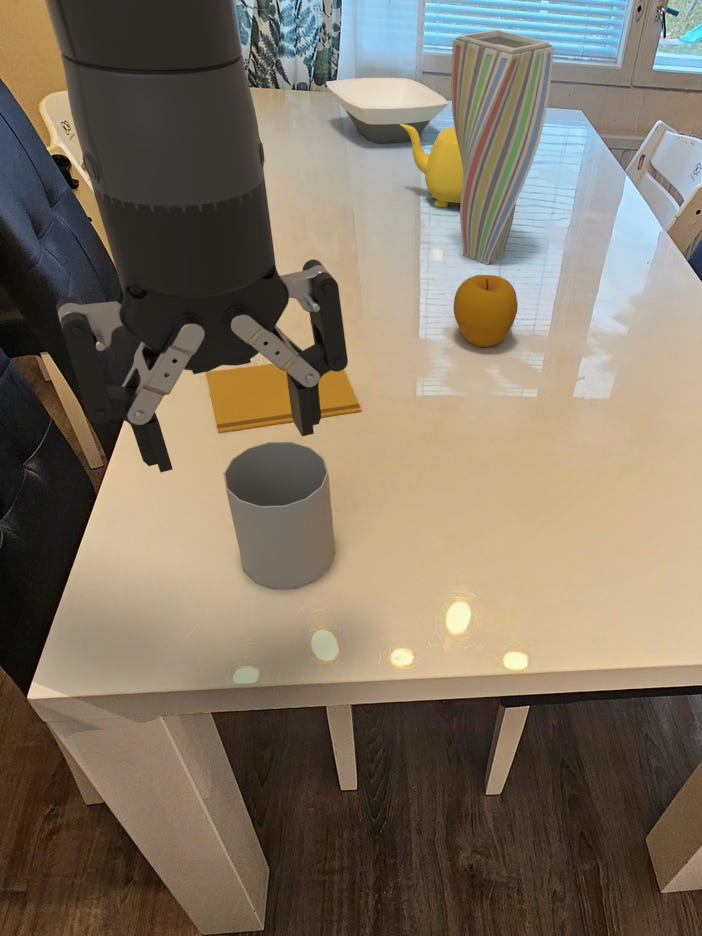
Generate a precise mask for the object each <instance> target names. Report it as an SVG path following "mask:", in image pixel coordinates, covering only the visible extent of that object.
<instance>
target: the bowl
mask: <svg viewBox="0 0 702 936" xmlns="http://www.w3.org/2000/svg"><path fill="white" fill-rule="evenodd" d="M325 85H326V87H327V89H328V91H329V92H330V93H331V95H332V96H333V97H334V98H335V100H336V101H337V102H338V103H339V105H340V106H341V107H342V108H343V109H344V110H345V112H346V114H347V115H348V118H349V119H350V120H351V122H352V123H353V125H354V126H355V128H356V130H357V131H358V132H359V133H360V134H361V135H362V136H363V137H364V138H366V139H367V140H368V141H370V142H372V143H375V144H393V143H396V144H397V143H404V142H411V138H410V136H409V134H408V132H407V131H406V130H405V129H404V128H403V127H402V126H401V125H400V124H405V125H409V126H412V127H414V128H415V129H416V130H417V132H418V134H419V136H420V135H421V133H422V132H423V131H424V130H425V128H426V127H427V126H428V125H429V123H430V122H432V120H434V119H435V118H436V117H437V116H438V115H439V114H440V113H441V112H442V111H443V110H444V109H445V108H446V107H447V106H448V105H449V101H447V100H446V98H445V97H444V96H442V95H441V94H439V93H437V92H436V91H435V90H433V89H431V88H430V87H427V86H426V85H424V84H422V83H420V82H418V81H416V80H413V79H411V78H408V77H361V78H360V77H358V78H344V79H335V80H328V81H325Z"/></svg>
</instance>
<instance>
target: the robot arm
mask: <svg viewBox="0 0 702 936" xmlns="http://www.w3.org/2000/svg"><path fill="white" fill-rule="evenodd" d="M44 2H45V5H46V8H47V13H48V15H49V19H50V22H51V26H52V30H53V34H54V37H55V40H56V43H57V47H58V50H59V51H60V58H61V62H62V66H63V70H64V71H63V72H64V77H65V82H66V89H67V96H68V102H69V108H70V113H71V119H72V122H73V125H74V126H73V127H74V130H75V133H76V137H77V139H78V143H79V147H80V151H81V154H82V162H83V166H84V168H85V170H86V173H87V175H88V177H89V181H90V183H91V187H92V190H93V194H94V198H95V202H96V204H97V208H98V212H99V215H100V218H101V222H102V225H103V229H104V233H105V235H106V238H107V242H108V246H109V249H110V252H111V256H112V259H113V263H114V266H115V270H116V273H117V277H118V280H119V291H118V294H117V298H116V301H115V300H113V301H104V302H96V303H85V304H83V302H82V301H81V300H80V299H79V298H77V297H74V296H64V297H61V298H60V299H59V300H58V301H57V302H56V312H57V316H58V319H59V323H60V327H61V331H62V334H63V338H64V340H65V345H66V347H67V351H68V354H69V359H70V361H71V365H72V368H73V372H74V375H75V378H76V383H77V385H78V388H79V393H80V396H81V400H82V403H83V405H84V409H85V413H86V416H87V418H88V419H89V421H90V422H92V423H95V424H98V425H99V424H100V425H101V424H106V423H108V422H109V421H111V420H121V421H125V422H126V423H128V424H129V425H130V427H131V429H132V432H133V435H134V438H135V442H136V444H137V447H138V451H139V454H140V456H141V459H142V462H144V463H145V464H146V465H147V466H148V467H152V466H156V465H157V466H158V469H159V473H165V472H169V471H173V470H174V469H173V465H172V461H171V458H170V455H169V452H168V448H167V444H166V441H165V438H164V435H163V431H162V428H161V424H160V421H159V419H158V416H157V413H156V411H157V409H158V407H159V406H160V404H161V402H162V400H163V399H164V397H165V396H168V395H170V394H171V393H172V391H173V389H174V387H175V386H176V384H177V383H178V381H179V379H180V377H181V375H182V374H183V371H191V372H192V374H193V375H197V374H204V373H206V372H211V371H214V369H217V368H219V367H222V366H233V367H234V366H236V367H237V366H238V367H239V366H242V365H247V364H252V361H251V359H252V358H254V357H256V356H257V355H258V354H261V355H262V356H263V357H264V358H266V359H267V360H268V361H270V362H271V364H274V365H276V366H277V367H278V368H279V369H281V370H282V371H283V370H284V371H286V374H287V382H288V390H289V397H290V405H291V412H292V418H293V421H294V422H293V423H294V425H295V427H296V429H297V431H298V432H299V434H300V435H301V437H306V436H310V435H314V433H315V431H314V426H317V425H319V424H320V422H321V419H322V418H321V410H320V398H319V388H318V383H319V380H320V378H321V377H322V376H323V375H324V374H326V373H327V372H329V371H331V370H332V371H335V372H338V371H341V370H343V369H344V370H345V369H346V367H347V366H348V363H349V360H348V352H347V344H346V335H345V329H344V328H345V327H344V319H343V313H342V305H341V297H340V288H339V284H338V282H337V280H336V279H335V277H333V276H332V274H331V273H330V272H329V271H328V269H327V268H326V267H325V265H323V264H322V262H321V261H319V260H318V259H315V258H314V259H309V260H307V261H306V262H305V263H304V264H303V266H302V270H300V271H296V272H291V273H286V274H282V275H280V274H279V272H278V270H277V264H276V255H275V250H274V249H275V248H274V240H273V233H272V225H271V217H270V216H271V215H270V208H269V202H268V194H267V185H266V179H265V170H264V167H265V159H266V158H265V152H264V145H263V142H262V140H261V137H260V131H259V124H258V119H257V112H256V108H255V103H254V99H253V94H252V91H251V88H250V83H249V80H248V76H247V72H246V66H245V61H244V55H243V54H242V52H243V46H242V39H241V38H242V37H241V31H240V25H239V16H238V15H239V14H238V7H237V1H236V0H44ZM290 299H294V300H296V301H297V303H298V304H299V305H300V306H301V308H302V310H304V311H305V312H307V313H309V320H310V324H311V330H312V337H313V342H314V344H312V345H310V346H308V347H307V348H305V349H302V348H301V347H300V346H298V345H297V344H296V343H295V342H294V341H293V340H292V339H291V338H289V337H288V336H287V335H286V334H285V333H284V332H283V330H281V329H280V327H279V326H278V325H277V324H278V322H279V321H280V319H281V317H282V315H283V313H284V312H285V310H286V309H287V306H288V304H289V301H290ZM121 327H123V328H124V329H125V331H127V332H128V333H129V334H131V335H132V336H133V337H134V338H136V339H137V340H139V341H140V343H139V345H138V347H137V349H136V351H135V353H134V356H133V364H132V366H131V367H130V370H129V372H128V373H127V375H126V377H125V379H124V381H123V383H122V385H121V386H118V385H106V381H105V377H104V373H103V369H102V366H101V362H100V361H101V360H100V357H99V354H98V352H103V351H105V350H107V349H108V348H109V347H110V346H111V344H112V340H113V339H112V335H113V332H114V331H116V330H117V329H118V328H121Z"/></svg>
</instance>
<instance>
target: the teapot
mask: <svg viewBox="0 0 702 936" xmlns="http://www.w3.org/2000/svg"><path fill="white" fill-rule="evenodd" d="M400 125H401V126H402V127H403V128H404V129H405V130H406V131H407V132H408V134H409V136H410V138H411V141H410V142H411V147H412V156H413V160H414V163H415V165H416V168H417V169H418V170H419V171H420V172H421V173H422V174H424V181H425V185H426V187H427V190H428V192H429V193H430V195H431V197H432V198H434V199H435V201H434V205H435V206H436V207H438V208H439V207H440V208H446V207H448V206H449V205H450V203H455V204H461V195H462V189H463V166H462V159H461V155H460V151H459V146H458V142H457V137H456V132H455V127H447V128H443V129H442V130H441V131H439V133H438V134H437V136H436V138H435V139H434V142H433V145H432V147H431V149H430V152H429V154H427V153H426V152H425V151H424V149H423V148H422V144H421V138H420V135H419V134H418V132H417V130H416V129H415V128H414V127H412V126H409V125H405V124H400Z"/></svg>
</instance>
